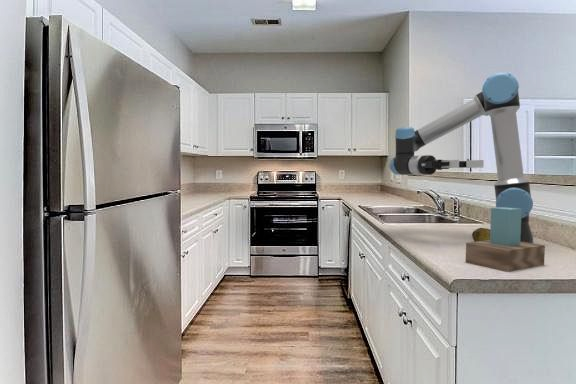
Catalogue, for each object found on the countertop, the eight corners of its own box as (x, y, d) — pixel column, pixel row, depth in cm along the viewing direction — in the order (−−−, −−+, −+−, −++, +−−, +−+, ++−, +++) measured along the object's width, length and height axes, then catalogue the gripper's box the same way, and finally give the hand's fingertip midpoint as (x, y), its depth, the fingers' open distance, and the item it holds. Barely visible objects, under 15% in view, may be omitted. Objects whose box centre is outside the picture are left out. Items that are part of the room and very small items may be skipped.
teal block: (501, 241, 137) (503, 207, 136) (520, 244, 132) (521, 208, 131) (489, 243, 134) (491, 207, 133) (508, 246, 129) (509, 209, 128)
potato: (509, 255, 146) (509, 231, 146) (469, 250, 154) (470, 228, 154) (514, 251, 153) (515, 229, 152) (476, 247, 161) (476, 225, 160)
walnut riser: (501, 256, 144) (502, 238, 143) (544, 264, 131) (544, 245, 131) (465, 262, 135) (466, 242, 134) (507, 271, 122) (508, 250, 122)
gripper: (444, 174, 177) (492, 173, 159) (400, 175, 164) (447, 174, 146) (444, 155, 177) (492, 153, 158) (400, 155, 164) (447, 152, 146)
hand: (471, 163), depth 152 cm, fingers open, 13 cm apart
